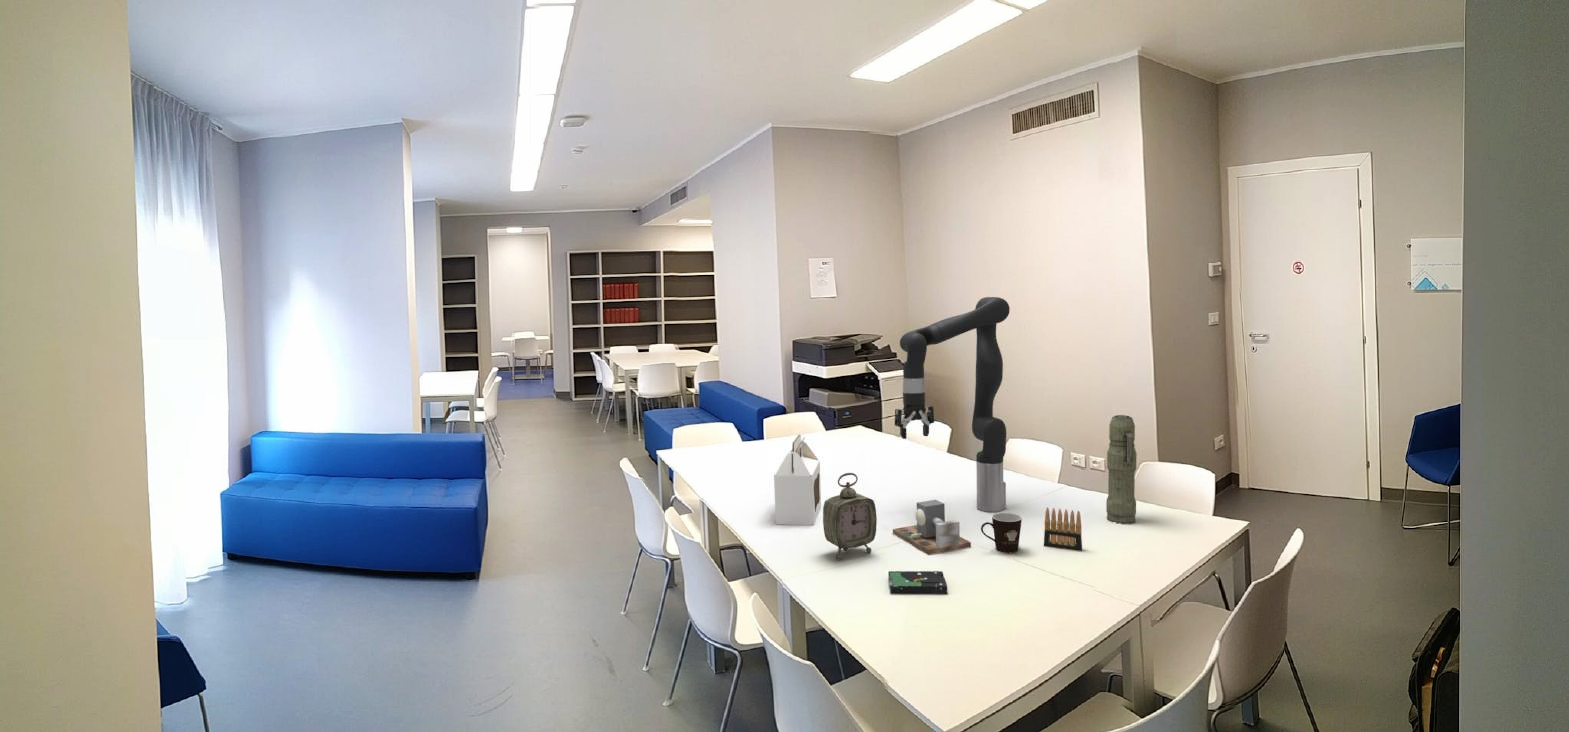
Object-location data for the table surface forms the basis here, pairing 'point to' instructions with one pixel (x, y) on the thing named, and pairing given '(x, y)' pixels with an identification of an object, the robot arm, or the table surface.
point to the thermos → (1121, 470)
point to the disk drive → (917, 582)
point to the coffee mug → (1005, 531)
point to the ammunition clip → (1063, 531)
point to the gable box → (798, 487)
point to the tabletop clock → (849, 519)
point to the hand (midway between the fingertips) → (914, 437)
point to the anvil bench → (935, 538)
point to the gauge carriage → (929, 517)
